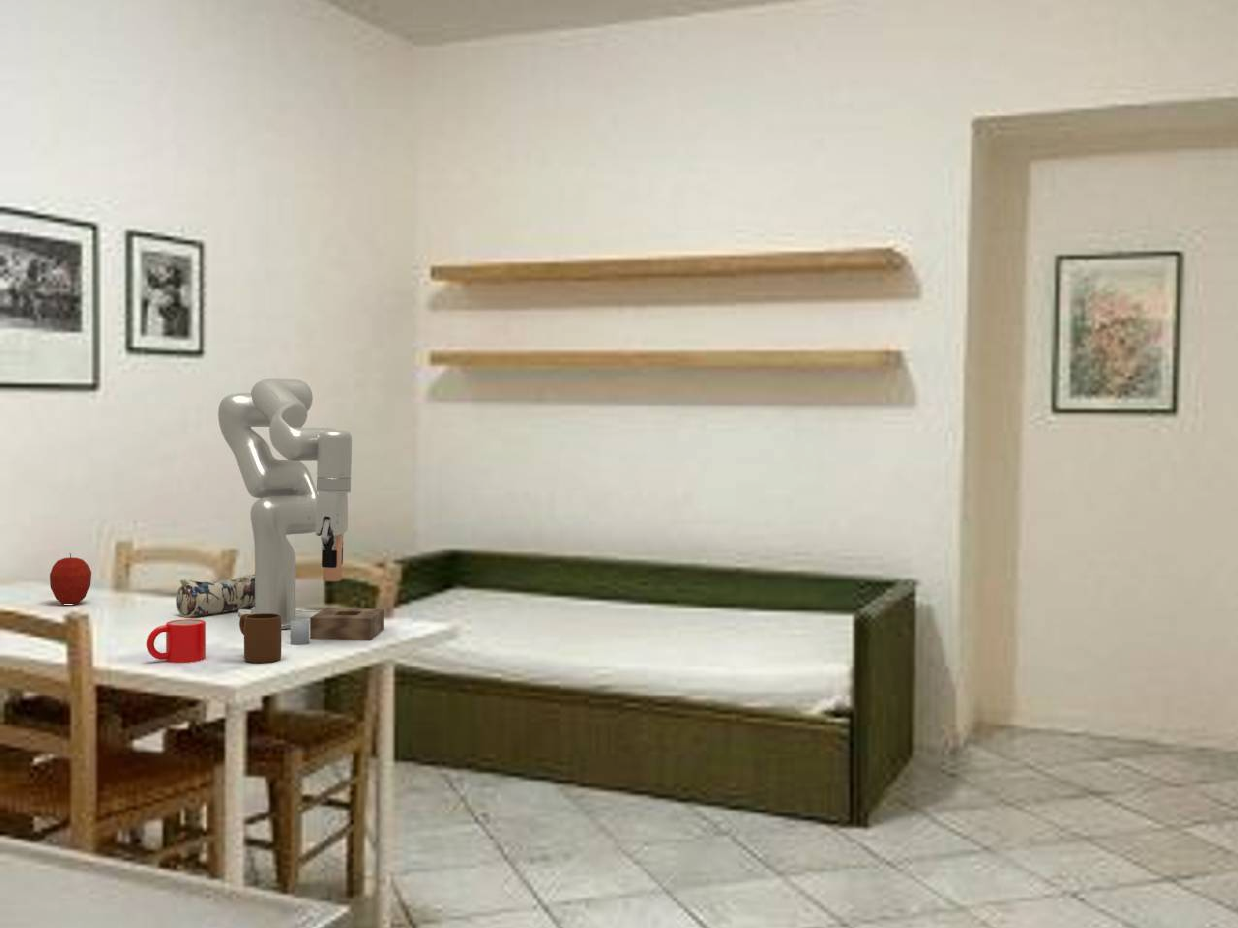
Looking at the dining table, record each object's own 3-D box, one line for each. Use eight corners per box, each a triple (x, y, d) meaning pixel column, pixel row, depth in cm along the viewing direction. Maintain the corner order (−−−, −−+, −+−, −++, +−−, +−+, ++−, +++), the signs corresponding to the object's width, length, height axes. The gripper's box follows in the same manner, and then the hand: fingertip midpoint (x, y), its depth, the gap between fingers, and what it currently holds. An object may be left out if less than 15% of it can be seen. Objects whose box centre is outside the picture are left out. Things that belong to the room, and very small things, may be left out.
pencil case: (193, 620, 307) (193, 581, 307) (173, 616, 312) (173, 578, 312) (265, 609, 325) (265, 572, 325) (245, 606, 330) (245, 569, 330)
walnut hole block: (310, 639, 283) (310, 617, 283) (326, 628, 297) (326, 607, 297) (370, 640, 283) (370, 618, 283) (383, 629, 297) (384, 608, 297)
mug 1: (140, 660, 257) (140, 623, 256) (197, 654, 265) (197, 617, 264) (154, 667, 251) (154, 628, 250) (211, 660, 258) (211, 622, 258)
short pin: (288, 644, 276) (288, 622, 276) (293, 641, 280) (293, 619, 280) (306, 645, 276) (306, 622, 276) (310, 641, 280) (311, 619, 280)
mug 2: (225, 657, 261) (225, 613, 261) (256, 652, 267) (256, 609, 267) (257, 665, 253) (257, 620, 253) (288, 660, 259) (288, 615, 259)
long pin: (320, 580, 277) (321, 527, 276) (326, 577, 281) (327, 525, 280) (338, 581, 277) (339, 528, 276) (343, 578, 281) (344, 526, 280)
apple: (97, 604, 328) (97, 552, 327) (58, 608, 321) (58, 555, 320) (82, 600, 335) (82, 549, 334) (44, 604, 328) (43, 552, 327)
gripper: (328, 481, 286) (327, 559, 287) (306, 487, 269) (304, 570, 271) (360, 483, 286) (358, 561, 287) (339, 489, 269) (338, 572, 270)
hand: (332, 564), depth 279 cm, fingers closed on long pin, 4 cm apart
